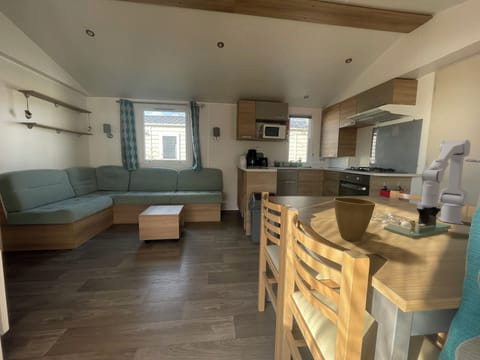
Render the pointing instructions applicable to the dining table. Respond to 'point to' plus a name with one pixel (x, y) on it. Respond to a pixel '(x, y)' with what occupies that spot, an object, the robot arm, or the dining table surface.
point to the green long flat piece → (423, 230)
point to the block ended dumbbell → (430, 222)
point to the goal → (402, 228)
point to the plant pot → (353, 217)
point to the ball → (406, 224)
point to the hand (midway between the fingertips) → (427, 222)
